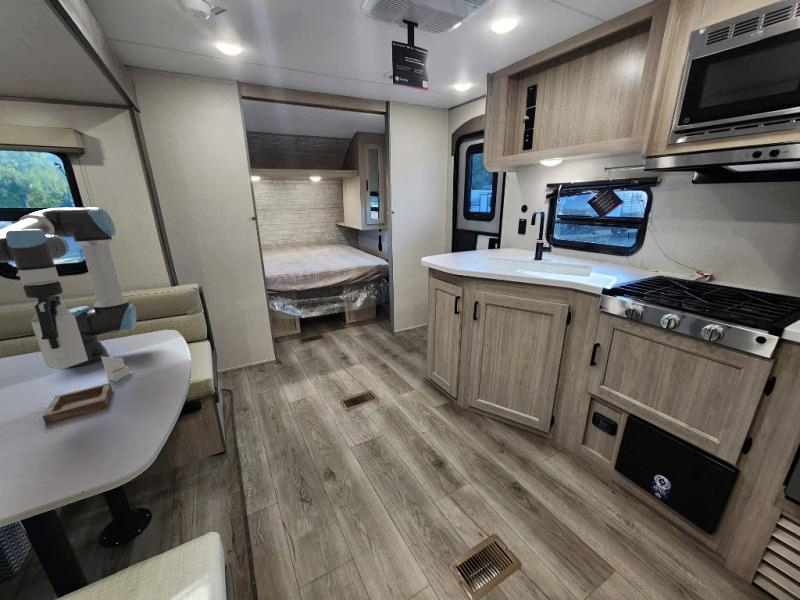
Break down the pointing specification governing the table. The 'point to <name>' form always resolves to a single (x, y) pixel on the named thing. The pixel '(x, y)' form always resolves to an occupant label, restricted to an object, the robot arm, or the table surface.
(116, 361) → the white angled block
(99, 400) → the square wooden tray
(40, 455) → the table surface
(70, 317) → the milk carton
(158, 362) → the table surface
